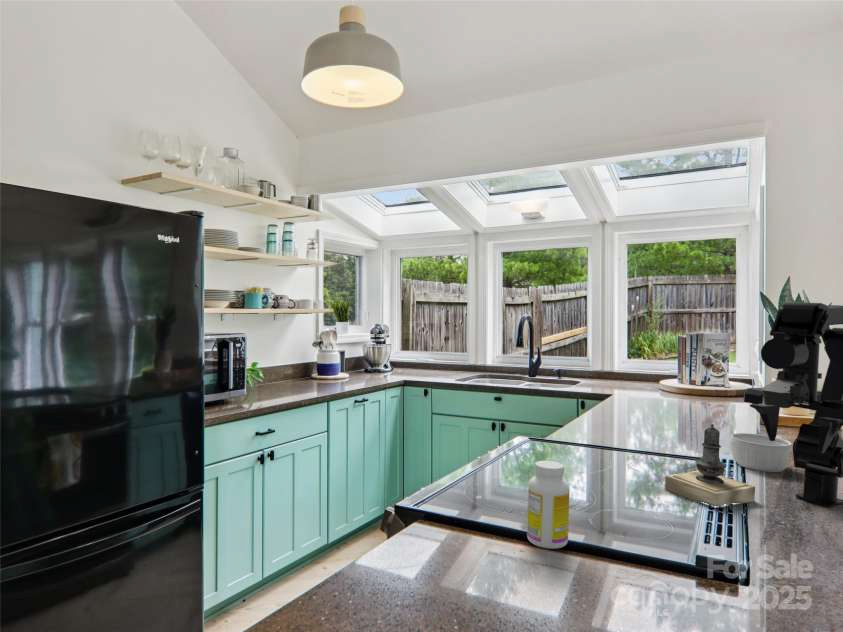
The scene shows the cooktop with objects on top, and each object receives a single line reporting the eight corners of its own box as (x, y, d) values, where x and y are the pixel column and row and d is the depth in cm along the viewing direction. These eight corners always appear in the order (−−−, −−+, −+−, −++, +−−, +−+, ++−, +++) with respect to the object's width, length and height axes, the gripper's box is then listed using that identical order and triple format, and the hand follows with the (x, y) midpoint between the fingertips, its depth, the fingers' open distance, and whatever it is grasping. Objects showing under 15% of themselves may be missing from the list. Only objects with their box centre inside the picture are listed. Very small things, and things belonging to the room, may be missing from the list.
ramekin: (773, 460, 146) (774, 434, 146) (802, 475, 133) (803, 447, 133) (720, 457, 147) (721, 431, 147) (744, 472, 134) (746, 444, 134)
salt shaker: (729, 485, 113) (732, 427, 113) (698, 483, 114) (701, 425, 114) (719, 476, 119) (722, 421, 119) (690, 474, 120) (693, 419, 120)
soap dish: (702, 483, 125) (702, 468, 125) (754, 501, 114) (755, 485, 114) (665, 489, 119) (665, 474, 119) (716, 509, 109) (716, 492, 109)
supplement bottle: (569, 536, 93) (572, 461, 93) (566, 553, 87) (569, 472, 87) (529, 530, 96) (532, 456, 95) (523, 546, 89) (526, 467, 89)
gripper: (728, 362, 112) (724, 438, 113) (829, 374, 95) (824, 464, 96) (762, 361, 117) (758, 434, 117) (864, 372, 100) (859, 458, 101)
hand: (796, 446), depth 108 cm, fingers open, 9 cm apart
